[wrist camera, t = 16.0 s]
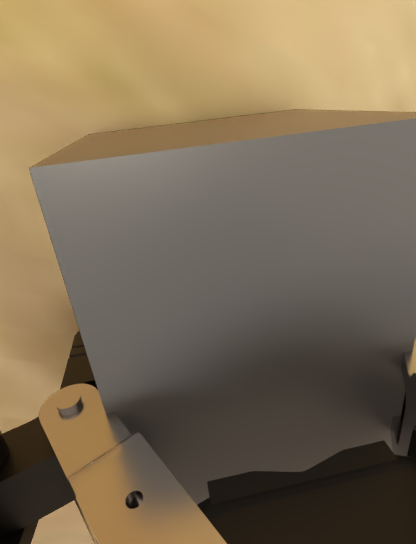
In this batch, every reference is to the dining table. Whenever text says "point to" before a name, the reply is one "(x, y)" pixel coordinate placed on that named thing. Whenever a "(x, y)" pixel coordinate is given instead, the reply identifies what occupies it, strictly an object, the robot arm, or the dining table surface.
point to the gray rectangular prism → (242, 282)
